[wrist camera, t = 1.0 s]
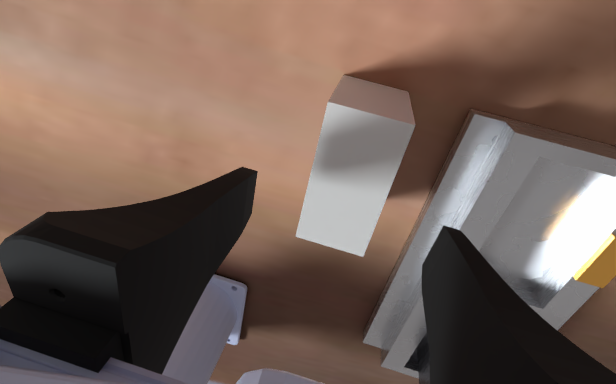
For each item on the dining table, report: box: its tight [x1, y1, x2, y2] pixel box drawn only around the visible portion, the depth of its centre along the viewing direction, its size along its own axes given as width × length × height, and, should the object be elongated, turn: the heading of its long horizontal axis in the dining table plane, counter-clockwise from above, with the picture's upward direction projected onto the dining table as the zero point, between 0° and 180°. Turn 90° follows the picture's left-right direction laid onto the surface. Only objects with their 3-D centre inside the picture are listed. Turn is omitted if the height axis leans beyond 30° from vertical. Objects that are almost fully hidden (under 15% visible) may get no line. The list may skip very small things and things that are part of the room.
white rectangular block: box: [296, 75, 416, 257], centre depth 17 cm, size 4×7×6 cm, turn 168°
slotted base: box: [363, 108, 616, 384], centre depth 20 cm, size 11×19×5 cm, turn 168°
